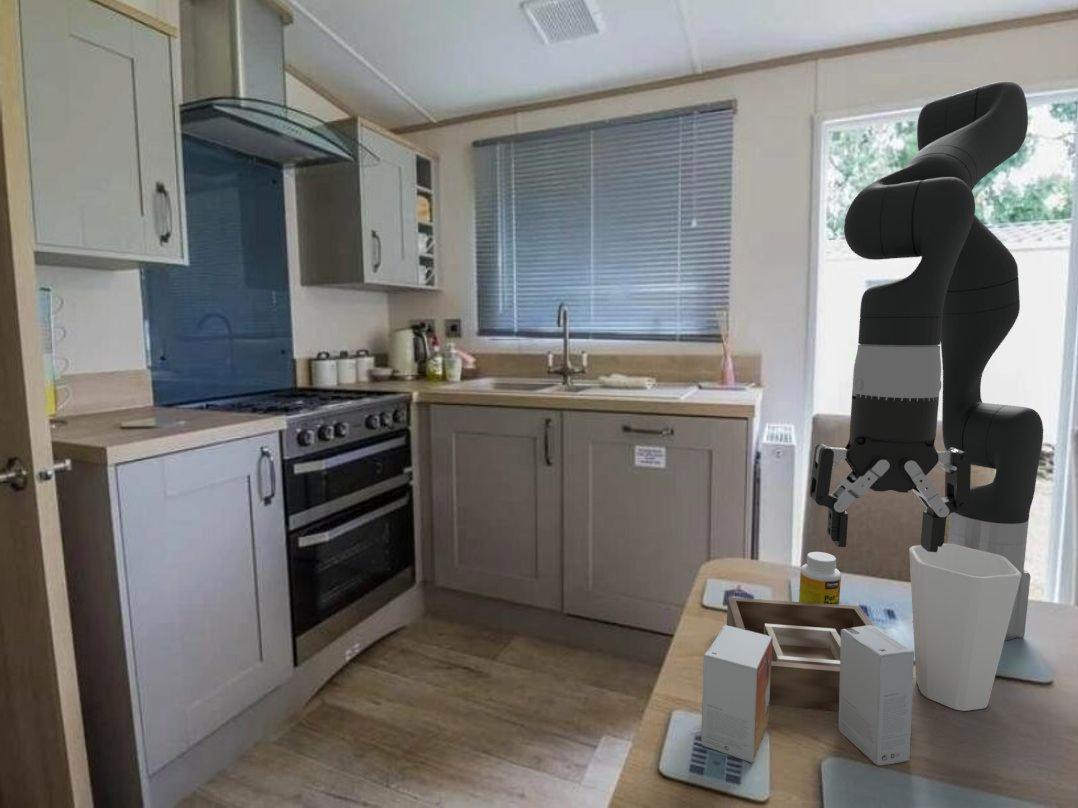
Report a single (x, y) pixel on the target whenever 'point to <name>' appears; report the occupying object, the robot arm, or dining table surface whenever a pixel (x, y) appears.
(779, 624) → the walled box
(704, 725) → the small box
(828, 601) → the supplement bottle
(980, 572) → the cup
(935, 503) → the robot arm
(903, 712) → the skincare box
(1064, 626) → the dining table surface
